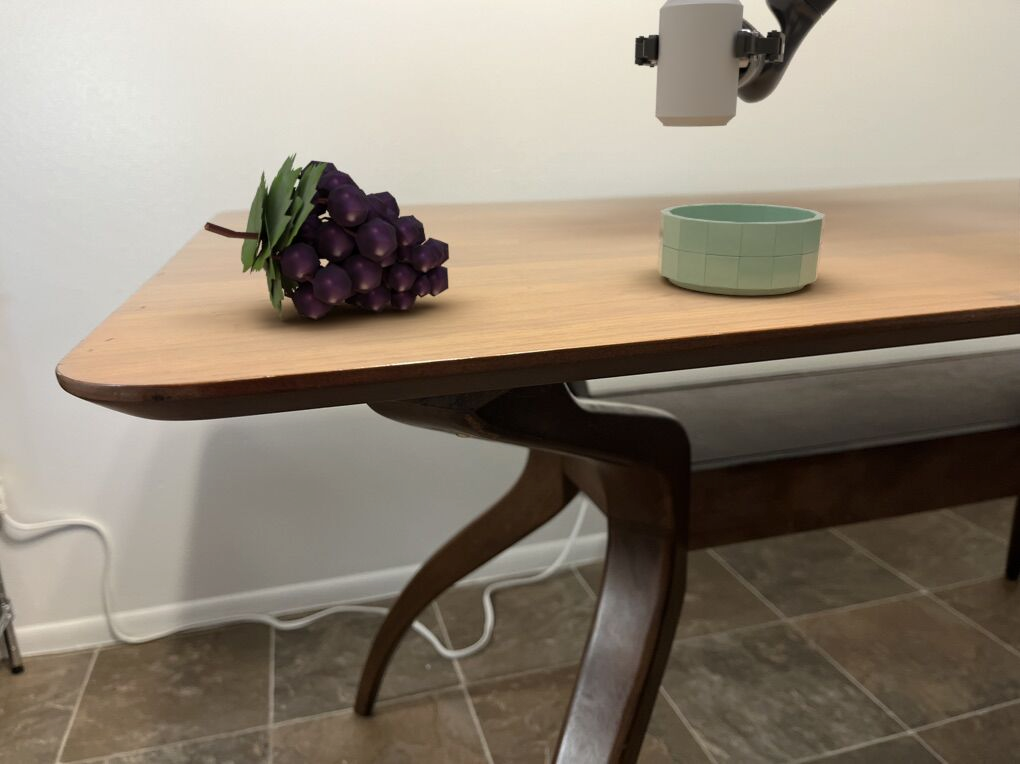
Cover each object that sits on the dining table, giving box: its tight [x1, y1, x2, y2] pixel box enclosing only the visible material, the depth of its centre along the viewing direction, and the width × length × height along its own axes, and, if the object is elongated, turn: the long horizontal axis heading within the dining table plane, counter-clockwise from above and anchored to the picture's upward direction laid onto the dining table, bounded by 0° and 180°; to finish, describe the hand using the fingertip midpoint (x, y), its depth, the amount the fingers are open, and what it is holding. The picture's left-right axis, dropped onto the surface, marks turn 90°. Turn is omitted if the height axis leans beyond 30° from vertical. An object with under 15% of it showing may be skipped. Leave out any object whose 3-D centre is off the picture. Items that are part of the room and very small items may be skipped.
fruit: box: [203, 152, 450, 321], centre depth 51 cm, size 10×11×15 cm
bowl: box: [657, 202, 826, 297], centre depth 59 cm, size 11×11×5 cm
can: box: [654, 0, 744, 128], centre depth 76 cm, size 8×8×12 cm
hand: (695, 45), depth 74 cm, fingers closed on can, 7 cm apart
